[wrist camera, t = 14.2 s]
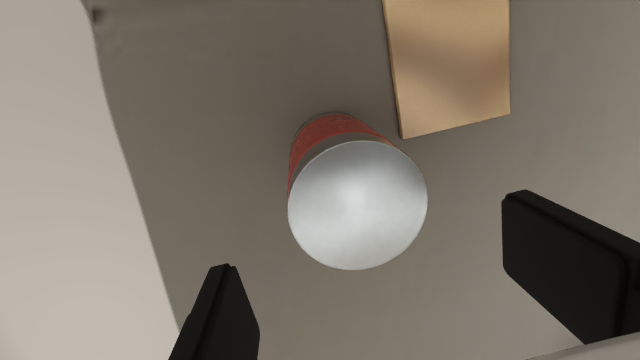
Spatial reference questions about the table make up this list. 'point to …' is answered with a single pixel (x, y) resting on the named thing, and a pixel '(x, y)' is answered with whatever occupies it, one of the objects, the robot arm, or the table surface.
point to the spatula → (448, 62)
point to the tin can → (352, 194)
